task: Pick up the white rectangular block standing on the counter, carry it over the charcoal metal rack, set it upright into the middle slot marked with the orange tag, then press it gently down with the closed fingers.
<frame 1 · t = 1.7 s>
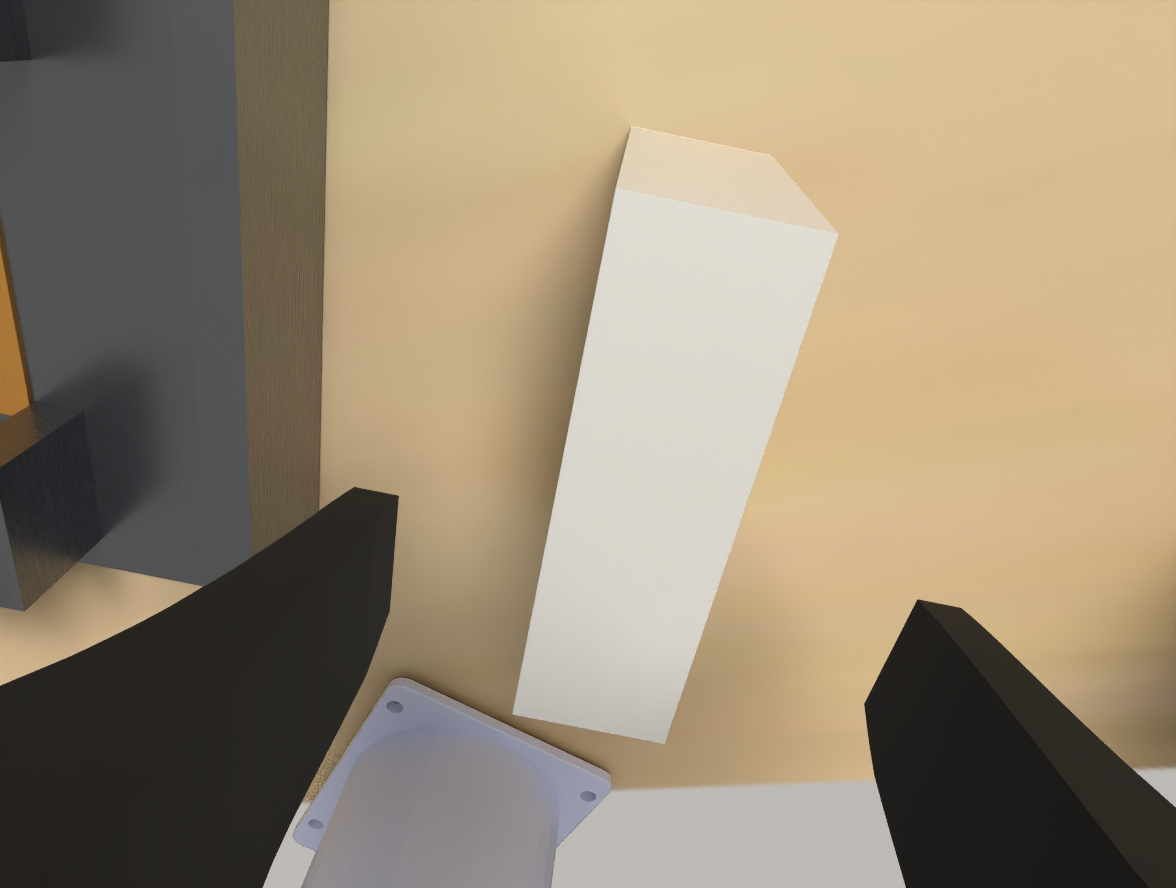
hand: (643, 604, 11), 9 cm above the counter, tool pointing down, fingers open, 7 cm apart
white rectangular block: (649, 356, 19), on the counter
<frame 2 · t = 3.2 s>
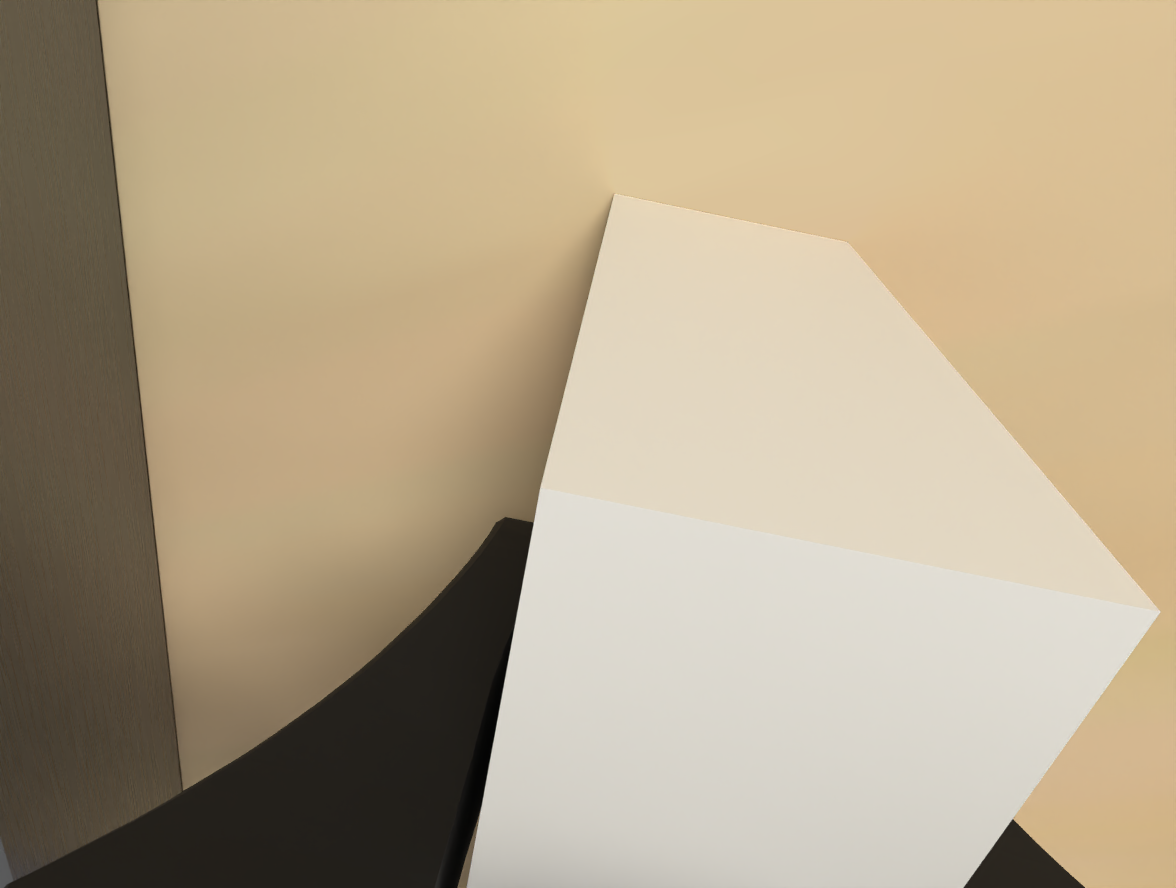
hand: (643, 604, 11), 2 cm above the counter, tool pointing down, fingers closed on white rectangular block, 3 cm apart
white rectangular block: (644, 535, 12), on the counter, touching gripper
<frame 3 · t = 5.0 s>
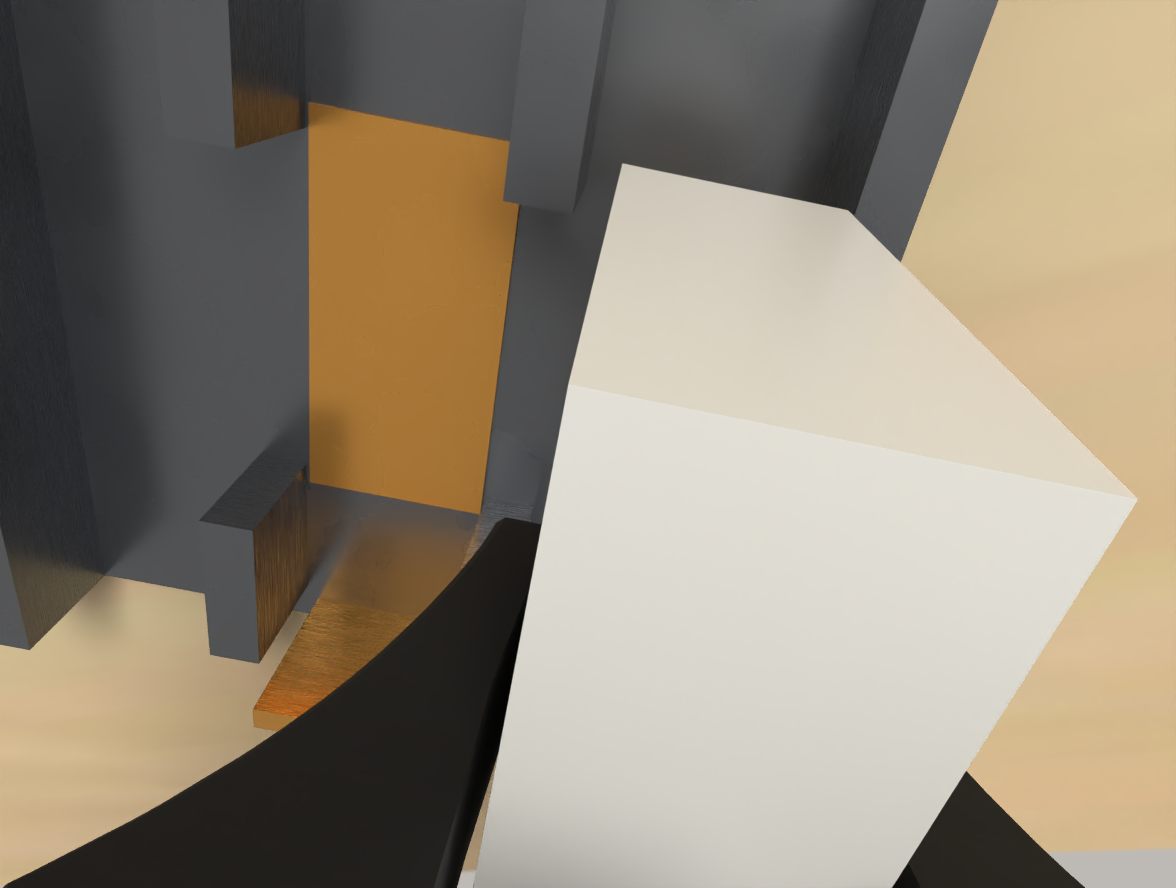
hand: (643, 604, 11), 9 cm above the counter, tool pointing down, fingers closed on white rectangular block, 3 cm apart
rack: (418, 317, 19), on the counter
white rectangular block: (650, 502, 13), point 7 cm above the counter, touching gripper
when the fingers open (4 cm above the counter, at t = 6.9 s): white rectangular block stays where it is, resting on rack.
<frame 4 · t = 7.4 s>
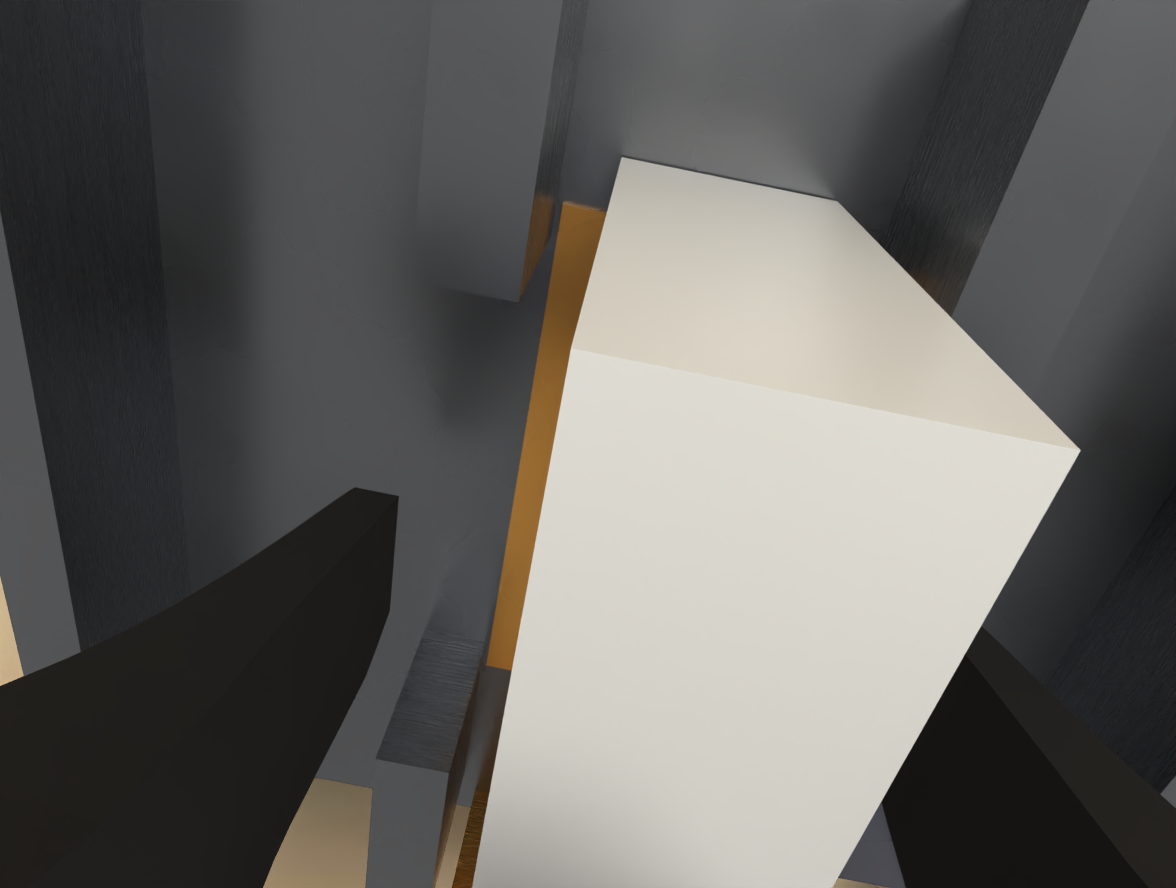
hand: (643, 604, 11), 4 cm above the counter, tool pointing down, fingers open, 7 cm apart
rack: (646, 466, 14), on the counter
white rectangular block: (649, 484, 13), point 1 cm above the counter, touching rack
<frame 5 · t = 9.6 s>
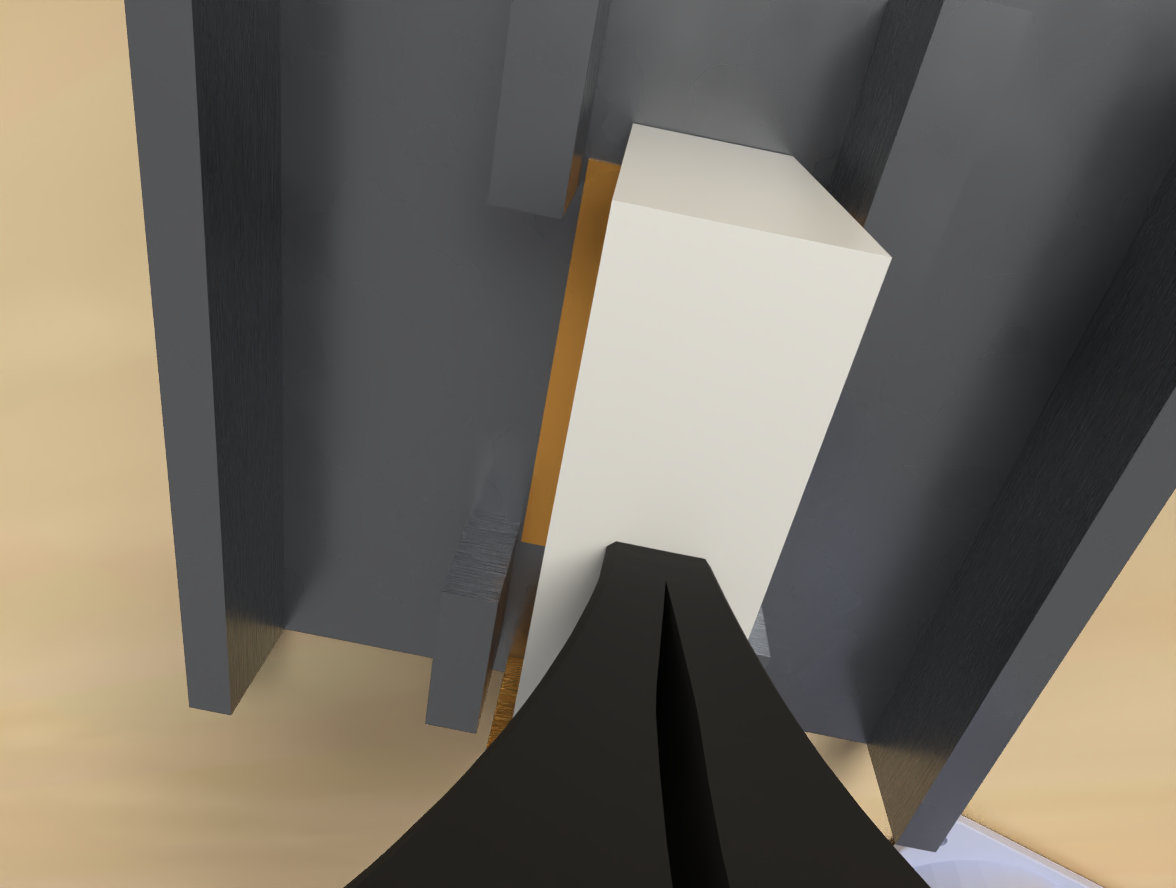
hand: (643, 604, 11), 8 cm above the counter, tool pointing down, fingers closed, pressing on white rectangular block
rack: (650, 375, 18), on the counter
white rectangular block: (653, 383, 17), point 1 cm above the counter, touching gripper, rack
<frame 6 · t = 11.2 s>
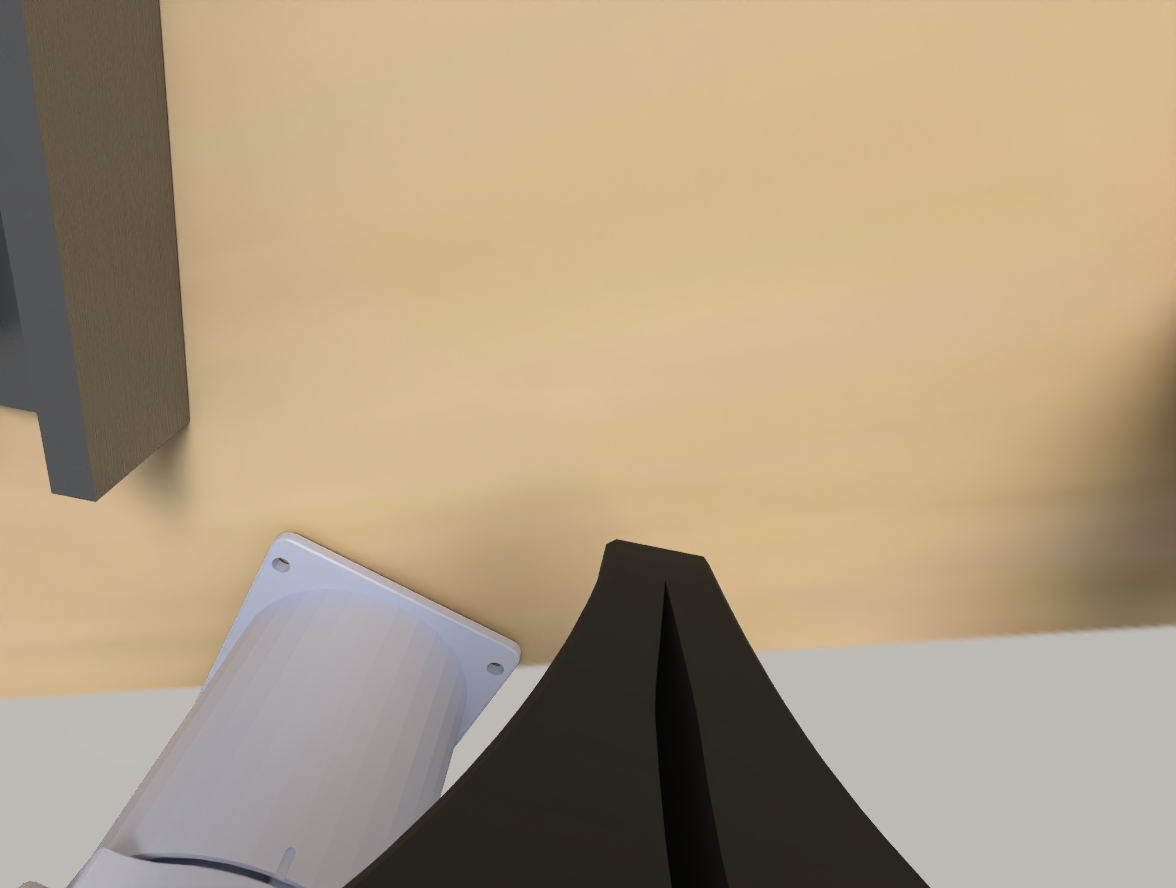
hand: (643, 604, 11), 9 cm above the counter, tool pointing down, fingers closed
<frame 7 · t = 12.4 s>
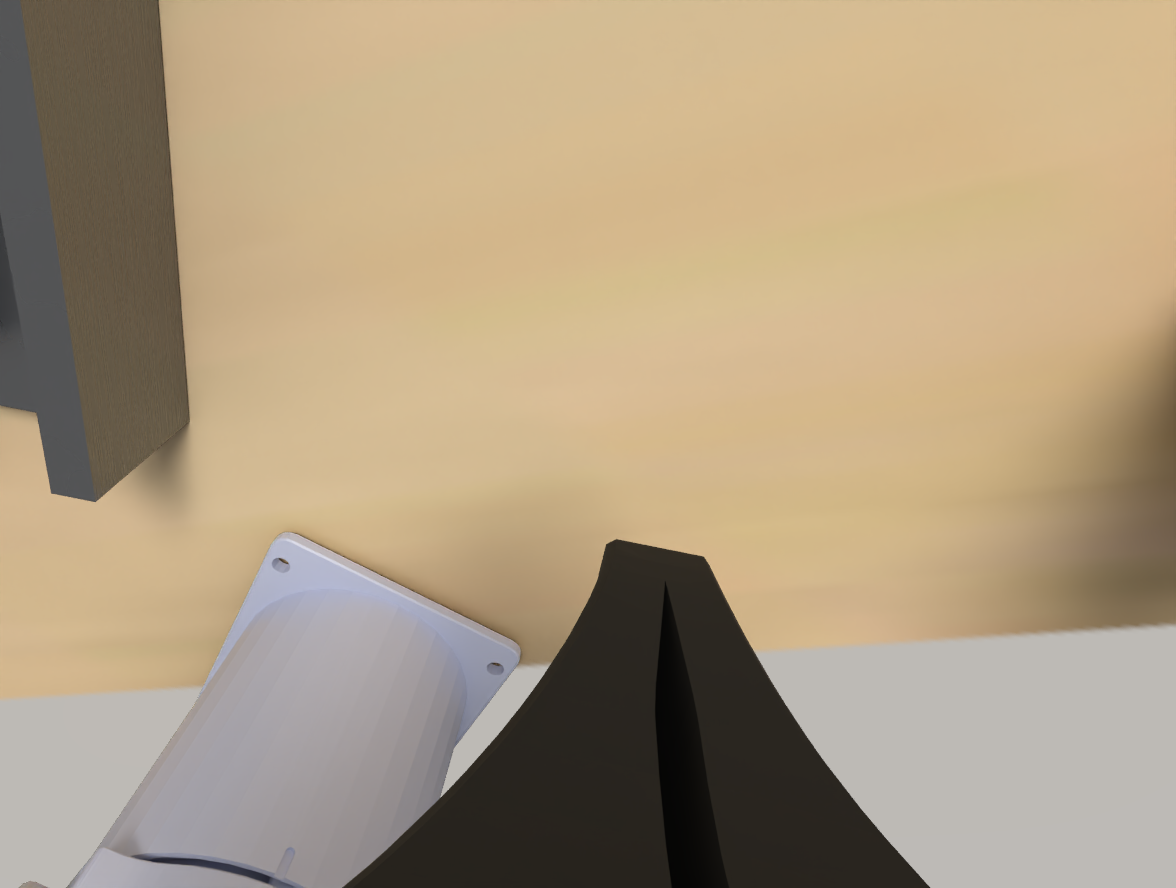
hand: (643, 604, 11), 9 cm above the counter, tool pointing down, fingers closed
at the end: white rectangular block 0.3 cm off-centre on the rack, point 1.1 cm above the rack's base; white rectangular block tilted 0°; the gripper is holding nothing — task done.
